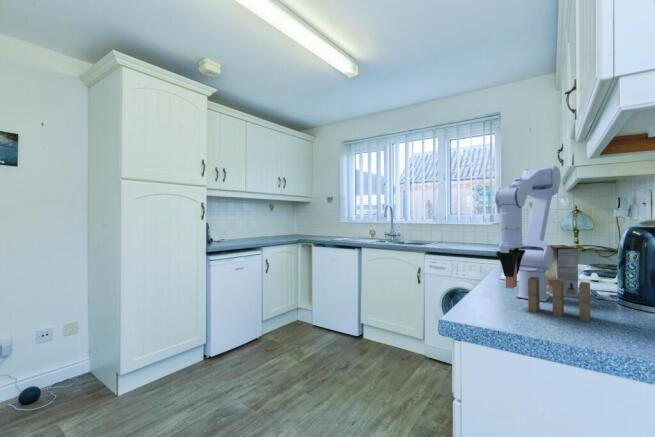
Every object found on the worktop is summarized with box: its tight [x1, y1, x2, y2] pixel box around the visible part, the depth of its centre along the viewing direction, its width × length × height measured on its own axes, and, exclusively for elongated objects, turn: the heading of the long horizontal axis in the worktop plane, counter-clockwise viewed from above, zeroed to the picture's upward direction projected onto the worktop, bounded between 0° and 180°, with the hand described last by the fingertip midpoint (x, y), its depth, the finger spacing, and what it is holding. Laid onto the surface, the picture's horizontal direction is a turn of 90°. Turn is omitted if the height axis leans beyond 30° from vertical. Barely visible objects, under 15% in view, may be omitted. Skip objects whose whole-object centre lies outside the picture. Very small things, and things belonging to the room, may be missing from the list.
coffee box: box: [546, 244, 579, 298], centre depth 103 cm, size 9×6×16 cm
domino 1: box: [505, 261, 518, 290], centre depth 89 cm, size 5×2×9 cm, turn 136°
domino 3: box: [552, 279, 565, 318], centre depth 82 cm, size 5×2×9 cm, turn 136°
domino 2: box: [527, 277, 541, 314], centre depth 86 cm, size 5×2×9 cm, turn 136°
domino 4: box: [578, 281, 591, 323], centre depth 78 cm, size 5×2×9 cm, turn 136°
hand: (511, 275), depth 89 cm, fingers closed on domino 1, 5 cm apart
